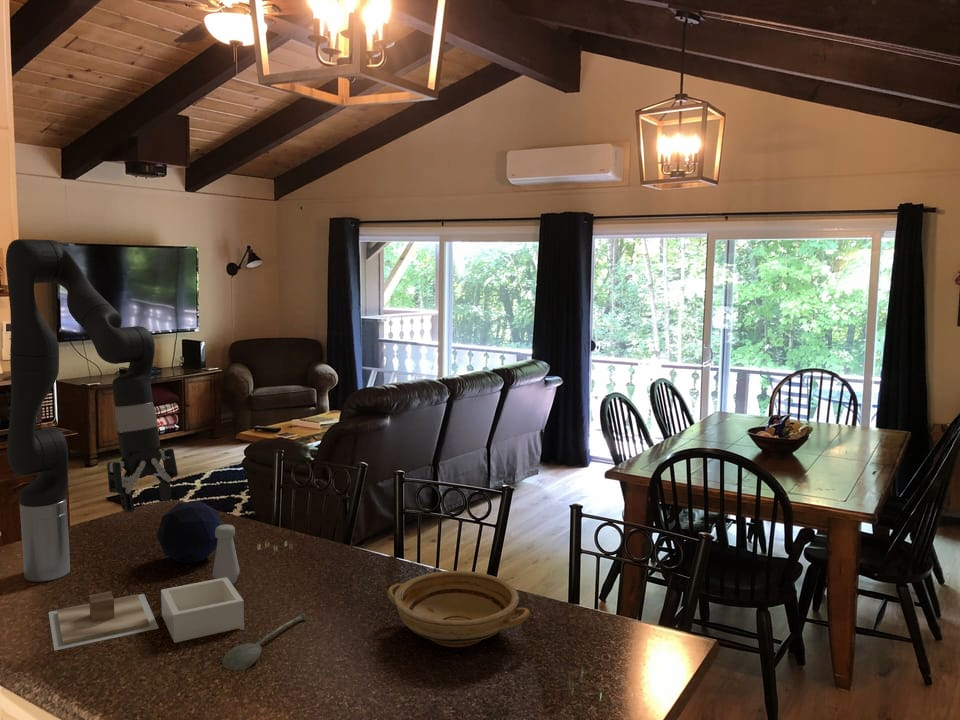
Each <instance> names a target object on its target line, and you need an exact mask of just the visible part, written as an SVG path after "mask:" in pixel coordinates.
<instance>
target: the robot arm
mask: <svg viewBox="0 0 960 720" xmlns="http://www.w3.org/2000/svg"><path fill="white" fill-rule="evenodd" d="M5 269H6V279H7V280H6V281H7V290H8V301H9V310H10V348H9V349H10V350H9V351H10V352H9V354H10V355H9V356H10V357H9V359H10V364H9V365H10V369H9V370H10V412H9V413H10V414H9V421H8V423H9V424H8V432H7V433H8V434H7V443H6V444H7V445H6V450H7V451H6V452H7V453H6V454H7V460H8V461H7V462H8V464H9V467H10V469H11V471H12V472H13V473H15V475H17V476H28V475H34V474H38V473H39V474H38V475H37V476H36V478H34V480H32V481H31V483H29V484H27V485H26V486H24V487H23V488H21V489H20V491H19V494H18V499H19V516H20V530H21V542H22V543H21V545H22V547H21V548H22V559H23V560H22V561H23V563H22V564H23V574H24V575H23V577H24V579H25V580H27V581H29V582H39V583H40V582H47V581H48V582H49V581H53V580H57V579H59V578H63V577H65V576H67V575H68V574H69V573H70V572H71V562H70V561H71V560H70V559H71V558H70V542H69V540H70V539H69V524H68V523H69V522H68V521H69V520H68V506H67V505H68V504H67V502H68V501H67V490H68V487H69V449H68V442H67V439H66V437H65V434H64V433H63V432H62V430H60V429H58V428H55V427H50V428H49V427H47V428H43V429H37V430H36V429H35V428H36V423H37V421H36V420H37V418H38V417H37V416H38V413H39V410H40V408H41V406H42V405H43V403H44V402H45V400H46V398H47V396H48V395H49V393H50V391H51V390H52V388H53V386H54V385H55V383H56V380H57V379H58V376H59V371H60V345H59V341H58V339H57V337H56V335H55V334H54V332H53V331H52V329H51V328H50V326H49V324H48V323H47V322H46V320H45V318H43V315H42V314H41V312H40V310H39V308H38V305H37V301H36V294H35V284H51V283H56V284H58V285H60V286H61V287H62V288H64V289H65V291H67V292H66V293H67V295H66V305H67V310H68V312H69V313H70V315H71V317H72V318H73V320H74V321H76V323H77V324H78V325H79V326H81V328H82V329H83V330H85V331H86V332H87V334H88V336H89V338H90V340H91V341H92V342H91V343H92V344H93V346H94V349H95V350H96V354H97V355H98V356H99V358H101V360H102V361H105V362H106V363H108V364H113V365H118V364H125V363H129V365H128V368H127V371H126V372H125V373H124V374H122V375H120V376H116V377H115V378H114V379H113V380H112V383H111V385H112V394H113V401H114V409H115V411H114V412H115V416H114V419H115V420H114V421H115V426H116V434H117V441H118V449H119V452H120V453H121V460H120V461H108V462H107V464H106V467H107V469H106V470H107V479H108V480H107V481H108V491H109V493H111V494H112V493H113V494H114V493H115V494H118V495H119V496H120V504H121V509H122V510H123V512H124V513H133V512H135V506H134V505H135V503H134V497H133V493H132V490H133V487H134V486H135V484H136V483H137V482H138V480H139V479H143V478H145V477H147V476H152V477H154V478H155V479H156V480H157V481H158V482H159V483H158V490H159V496H160V497H159V498H160V501H162V502H169V501H171V497H172V489H171V480H172V479H174V478H176V477H178V475H179V474H178V472H179V471H178V468H177V462H176V457H175V452H174V449H172V448H163V449H161V451H160V445H161V442H160V436H159V435H160V434H159V427H158V426H159V425H158V418H157V413H156V408H155V406H154V399H153V398H154V397H153V391H152V385H151V384H152V383H151V379H152V373H153V366H154V359H155V354H156V353H155V352H156V351H155V350H156V345H155V339H154V336H153V334H152V333H151V332H150V331H149V329H148V328H146V327H144V326H140V325H135V326H134V325H133V326H126V327H125V326H124V327H123V326H122V324H123V323H122V322H123V320H122V316H121V315H120V313H119V312H118V310H116V308H114V306H112V304H111V303H109V302H108V301H107V300H106V299H105V298H104V297H103V296H102V295H101V294H100V293H99V292H98V291H97V289H95V287H94V286H93V285H92V284H91V282H90V281H89V279H88V278H87V276H86V275H85V273H84V271H83V270H82V268H81V267H80V266H79V264H78V263H77V261H76V260H75V258H74V256H73V255H72V254H71V253H70V252H69V250H68V249H67V248H66V247H65V246H64V245H63V244H62V243H60V242H59V241H57V240H54V239H53V240H52V239H32V238H31V239H27V238H25V239H24V238H21V239H13V240H12V241H11V242H10V243H9V245H8V247H7V249H6V255H5ZM161 461H162V465H163V466H162V465H161V463H160V462H161ZM123 470H124V471H123ZM122 472H123V474H122Z"/></svg>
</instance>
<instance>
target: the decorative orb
mask: <svg viewBox="0 0 960 720" xmlns="http://www.w3.org/2000/svg"><path fill="white" fill-rule="evenodd" d="M220 525H223V523H222V520H221V518H220V516H219V512H218V511H217V509H215V508H213V507H211V506H210V505H208V504H207V503H204V502H202V501H201V500H195V501H194V500H193V501H184V502H178V503H177V504H175V505H174V507H172V508H171V509H170V510H169V511H167V512H166V513H165V514H163V515H162V516H161V520H160V524H159V527H158V531H157V534H156V537H157V540H158V542H159V545H160V547H161V549H162V552H163V554H164V555H165V556H167V557H168V558H171V559H172V560H174V561H176V562H178V563H179V564H194V563H199V562H203V561H204V560H205V559H206V558H208V557H209V556H210V555H211V554H213V552H216V548H217V541H218V538H216V537H215V529H216V528H217V527H218V526H220Z"/></svg>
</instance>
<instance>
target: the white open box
mask: <svg viewBox="0 0 960 720" xmlns="http://www.w3.org/2000/svg"><path fill="white" fill-rule="evenodd" d="M160 598H161V599H160V600H161V601H160V602H161V617H162V619H163V621H164V624H165V625H166V628H167V629H168V632H169V634H170V636H171V639H172V641H173V642H174V644H175V643H180V642H183V641H188V640H192V639H197V638H201V637H206V636H210V635H215V634H219V633H225V632H229V631H232V630H237V629H239V630H240V631H244V630H245V609H244V608H245V605H244V602H245V601H244V599H243V597H242V596H241V595H240V594H239V591H238V590H237V589H236V588H235V586H234V584H232V583H231V582H230V581H229V579H228V578H227V577H225V578H219V579H214V578H213V579H209V580H205V581H199V582H195V583H188V584H184V585H179V586H173V587H169V588H163V589H160Z"/></svg>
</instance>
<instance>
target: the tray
mask: <svg viewBox="0 0 960 720" xmlns="http://www.w3.org/2000/svg"><path fill="white" fill-rule="evenodd" d="M137 595H138V597H139V599H140V602H141V604H142V607H143V609H144V612H145V614H146V616H147V619H148V621H149V627H146V628H141V629H136V630H131V631H127V632H122V633H117V634H113V635H108V636H103V637H99V638H94V639H89V640H84V641H80V642H75V643H70V644H66V645H63V643H62V637H61V632H60V626H59V620H58V614H57V610H53V611H49V612H48V618H49V623H50V624H49V626H50V631H51V638H52V644H53V645H52V646H53V651H54V652H55V651H58V650H64V649H70V648H74V647H79V646H83V645H88V644H92V643H97V642H101V641H106V640H110V639H115V638H120V637H121V638H122V637H125V636H131V635H135V634H139V633H143V632H147V631H148V632H149V631H152V630H157V629H159V628H160V627H159V625H158V623H157V620H156V618H155V616H154V613H153V611H152V609H151V606H150V604H149V603H148V600H147V598H146V595H145V593H141V594H137Z"/></svg>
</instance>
